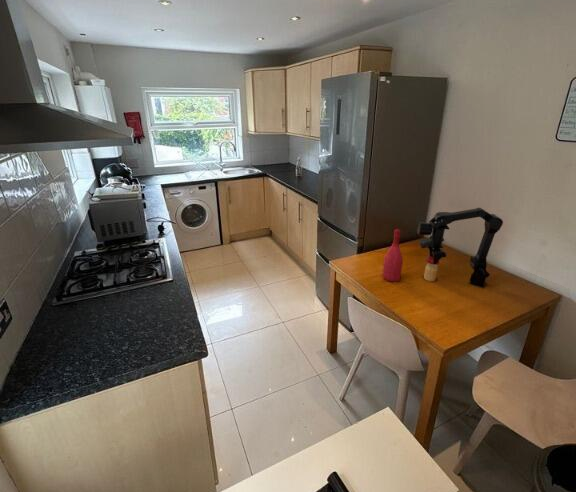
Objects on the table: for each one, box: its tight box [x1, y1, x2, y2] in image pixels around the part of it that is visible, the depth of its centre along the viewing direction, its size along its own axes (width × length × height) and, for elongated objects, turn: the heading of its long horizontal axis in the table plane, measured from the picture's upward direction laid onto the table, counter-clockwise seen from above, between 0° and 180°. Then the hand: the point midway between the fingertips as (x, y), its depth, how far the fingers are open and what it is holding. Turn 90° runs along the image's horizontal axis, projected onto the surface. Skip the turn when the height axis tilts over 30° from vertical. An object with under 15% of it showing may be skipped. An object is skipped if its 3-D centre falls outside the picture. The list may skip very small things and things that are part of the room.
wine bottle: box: [382, 228, 404, 283], centre depth 167 cm, size 10×10×30 cm
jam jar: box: [423, 263, 438, 282], centre depth 171 cm, size 6×6×9 cm
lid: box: [425, 255, 441, 266], centre depth 168 cm, size 7×7×2 cm
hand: (432, 261), depth 168 cm, fingers closed on lid, 6 cm apart
